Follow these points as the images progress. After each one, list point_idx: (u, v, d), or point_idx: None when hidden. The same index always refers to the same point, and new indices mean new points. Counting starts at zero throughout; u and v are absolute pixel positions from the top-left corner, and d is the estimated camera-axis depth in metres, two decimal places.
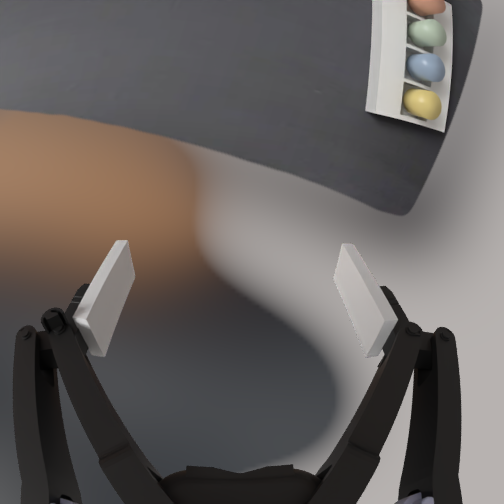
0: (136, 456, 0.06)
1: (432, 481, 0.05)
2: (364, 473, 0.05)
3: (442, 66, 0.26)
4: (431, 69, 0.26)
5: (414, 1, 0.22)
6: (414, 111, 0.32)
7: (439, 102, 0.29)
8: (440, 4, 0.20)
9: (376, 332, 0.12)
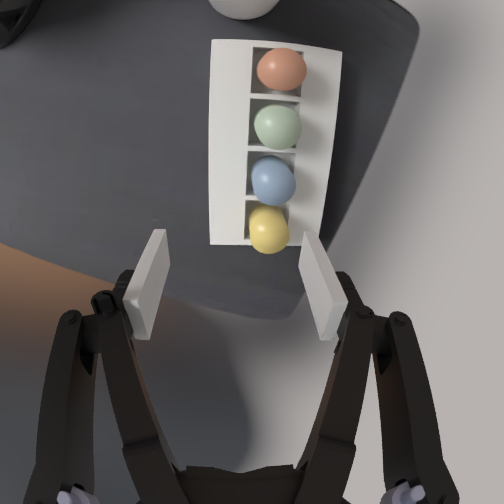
0: (163, 450, 0.06)
1: (416, 471, 0.05)
2: (343, 464, 0.06)
3: (290, 179, 0.28)
4: (269, 190, 0.28)
5: (258, 75, 0.24)
6: None
7: (285, 230, 0.31)
8: (294, 72, 0.22)
9: (327, 314, 0.13)
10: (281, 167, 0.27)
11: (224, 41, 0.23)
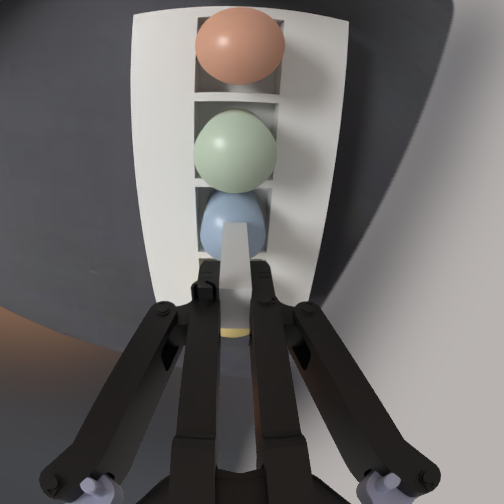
0: (214, 452, 0.06)
1: (381, 461, 0.06)
2: (299, 457, 0.06)
3: (256, 226, 0.19)
4: None
5: None
6: None
7: None
8: (261, 50, 0.11)
9: None
10: (241, 209, 0.18)
11: (153, 15, 0.12)
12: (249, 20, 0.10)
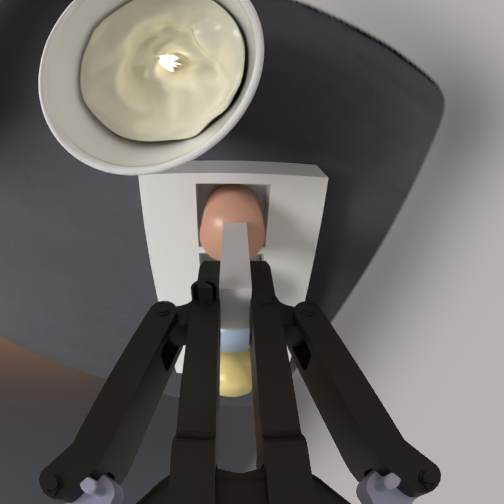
0: (214, 452, 0.06)
1: (381, 461, 0.06)
2: (299, 458, 0.06)
3: (248, 334, 0.26)
4: (225, 342, 0.27)
5: None
6: None
7: (247, 383, 0.28)
8: None
9: None
10: None
11: (156, 177, 0.19)
12: (238, 218, 0.18)
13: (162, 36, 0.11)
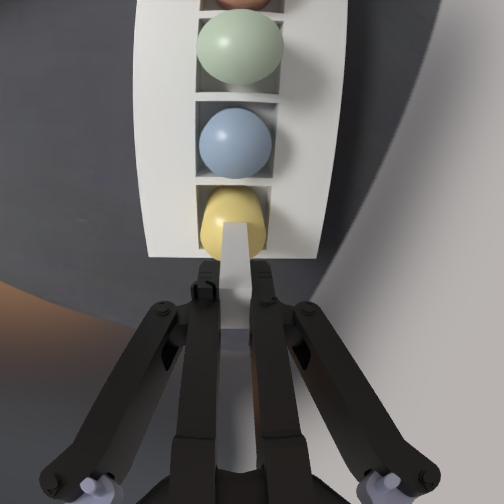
0: (214, 452, 0.06)
1: (381, 461, 0.06)
2: (299, 457, 0.06)
3: (261, 133, 0.16)
4: (226, 152, 0.16)
5: None
6: None
7: (258, 224, 0.19)
8: None
9: None
10: (245, 113, 0.15)
11: None
12: None
13: None
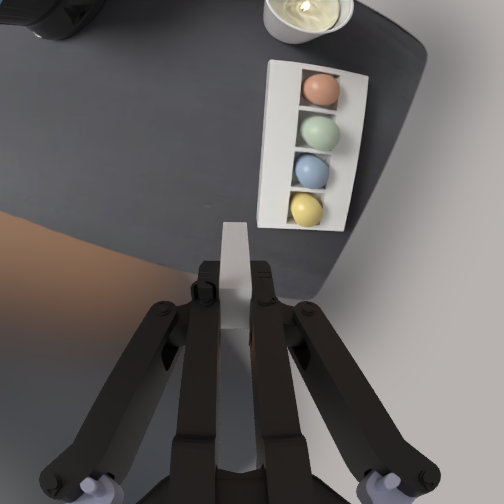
0: (214, 452, 0.06)
1: (381, 461, 0.06)
2: (299, 457, 0.06)
3: (325, 170, 0.37)
4: (309, 177, 0.38)
5: (303, 92, 0.34)
6: None
7: (319, 208, 0.40)
8: (331, 93, 0.31)
9: None
10: (319, 160, 0.36)
11: (280, 62, 0.31)
12: (327, 80, 0.30)
13: None
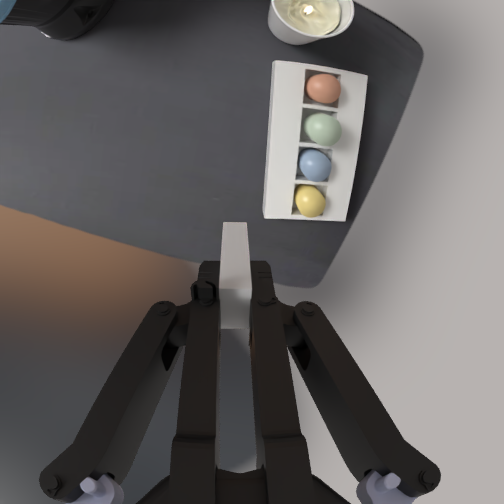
0: (214, 452, 0.06)
1: (381, 461, 0.06)
2: (299, 457, 0.06)
3: (328, 163, 0.39)
4: (313, 170, 0.40)
5: (306, 91, 0.35)
6: None
7: (323, 199, 0.42)
8: (332, 91, 0.33)
9: None
10: (322, 155, 0.38)
11: (285, 63, 0.32)
12: (329, 79, 0.32)
13: (302, 0, 0.25)
